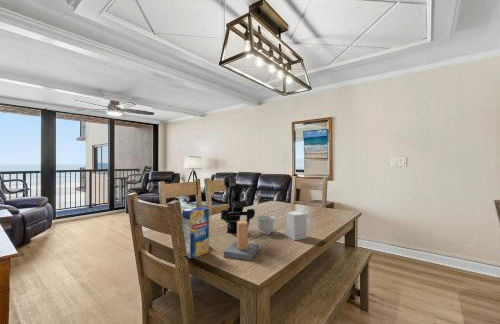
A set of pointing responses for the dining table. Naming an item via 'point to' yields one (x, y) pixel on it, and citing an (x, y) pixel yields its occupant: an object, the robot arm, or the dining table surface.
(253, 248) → the display podium
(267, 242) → the dining table surface
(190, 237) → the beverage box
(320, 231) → the dining table surface
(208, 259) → the dining table surface
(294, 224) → the supplement box
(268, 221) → the teacup
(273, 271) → the dining table surface
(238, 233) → the orange carton
